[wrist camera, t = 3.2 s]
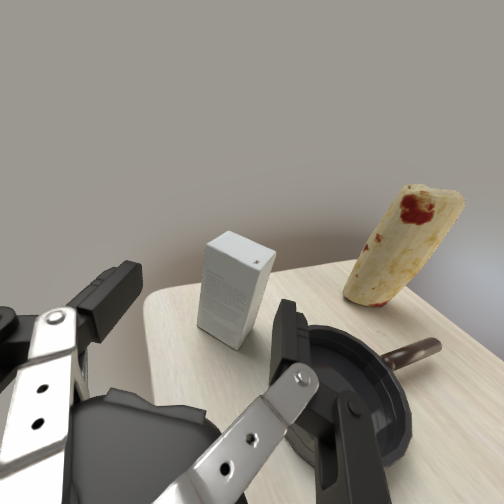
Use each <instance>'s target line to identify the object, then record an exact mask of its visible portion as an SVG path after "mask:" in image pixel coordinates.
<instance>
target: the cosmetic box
mask: <svg viewBox="0 0 504 504" xmlns="http://www.w3.org/2000/svg"><path fill="white" fill-rule="evenodd" d="M275 256H276V251H274V250H272V249H269V248H267V247H264V246H262V245H260V244H258V243H255V242H253V241H251V240H249V239H247V238H244V237H242V236H240V235H238V234H236V233H233V232H231V231H227V232H225V233H224V234H222V235H221V236H219V237H217V238H216V239H214V240H212V241H211V242H209V243H207V244H206V248H205V259H204V268H203V276H202V284H201V293H200V301H199V310H198V318H197V326H198V327H200V328H201V329H203V330H205V331H206V332H208V333H209V334H211V335H213V336H214V337H216V338H217V339H219V340H221V341H222V342H224V343H225V344H227V345H229V346H230V347H232V348H233V349H235V350H238V349H239V347H240V346H241V344H242V343H243V342H244V340H245V339H246V337H247V335H248V334H249V333H250V331H251V330H252V328H253V326H254V323H255V320H256V316H257V313H258V310H259V307H260V304H261V301H262V297H263V294H264V291H265V288H266V285H267V281H268V278H269V275H270V272H271V269H272V265H273V262H274V259H275Z"/></svg>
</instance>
